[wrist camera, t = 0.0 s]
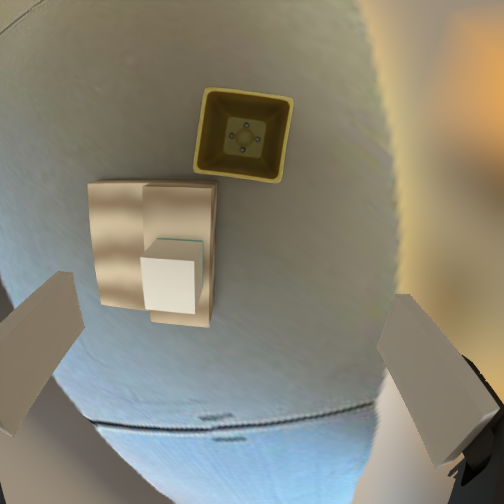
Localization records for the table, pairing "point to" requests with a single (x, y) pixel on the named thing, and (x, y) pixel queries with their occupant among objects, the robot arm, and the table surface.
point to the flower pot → (242, 134)
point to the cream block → (173, 275)
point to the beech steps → (150, 237)
